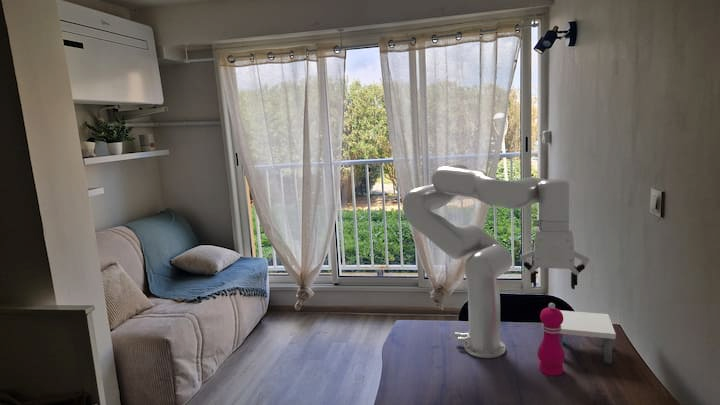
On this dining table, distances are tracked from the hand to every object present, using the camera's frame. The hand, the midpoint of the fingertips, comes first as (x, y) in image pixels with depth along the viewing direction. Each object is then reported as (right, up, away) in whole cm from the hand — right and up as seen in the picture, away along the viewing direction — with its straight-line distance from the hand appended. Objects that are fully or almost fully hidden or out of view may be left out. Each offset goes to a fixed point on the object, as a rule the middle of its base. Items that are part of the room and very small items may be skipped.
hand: (553, 286), depth 126 cm
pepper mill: (+1, -25, +4) cm, 25 cm away
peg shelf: (+14, -22, +14) cm, 30 cm away
